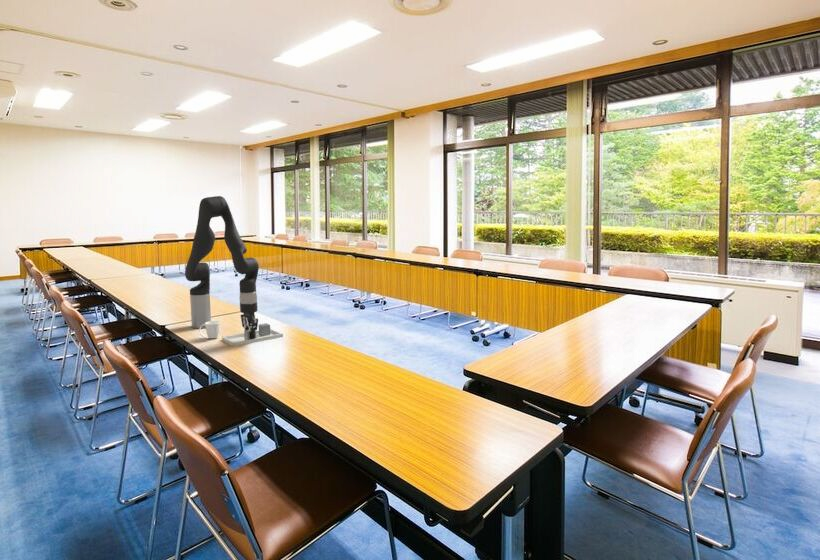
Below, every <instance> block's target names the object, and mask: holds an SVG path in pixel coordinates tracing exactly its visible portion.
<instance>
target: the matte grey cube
mask: <svg viewBox="0 0 820 560" xmlns="http://www.w3.org/2000/svg"><path fill="white" fill-rule="evenodd" d="M270 329H271V325H270V323H267V322H266V323H260V324H259V323H258V330H259V335H261V336H267V335H270Z"/></svg>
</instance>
